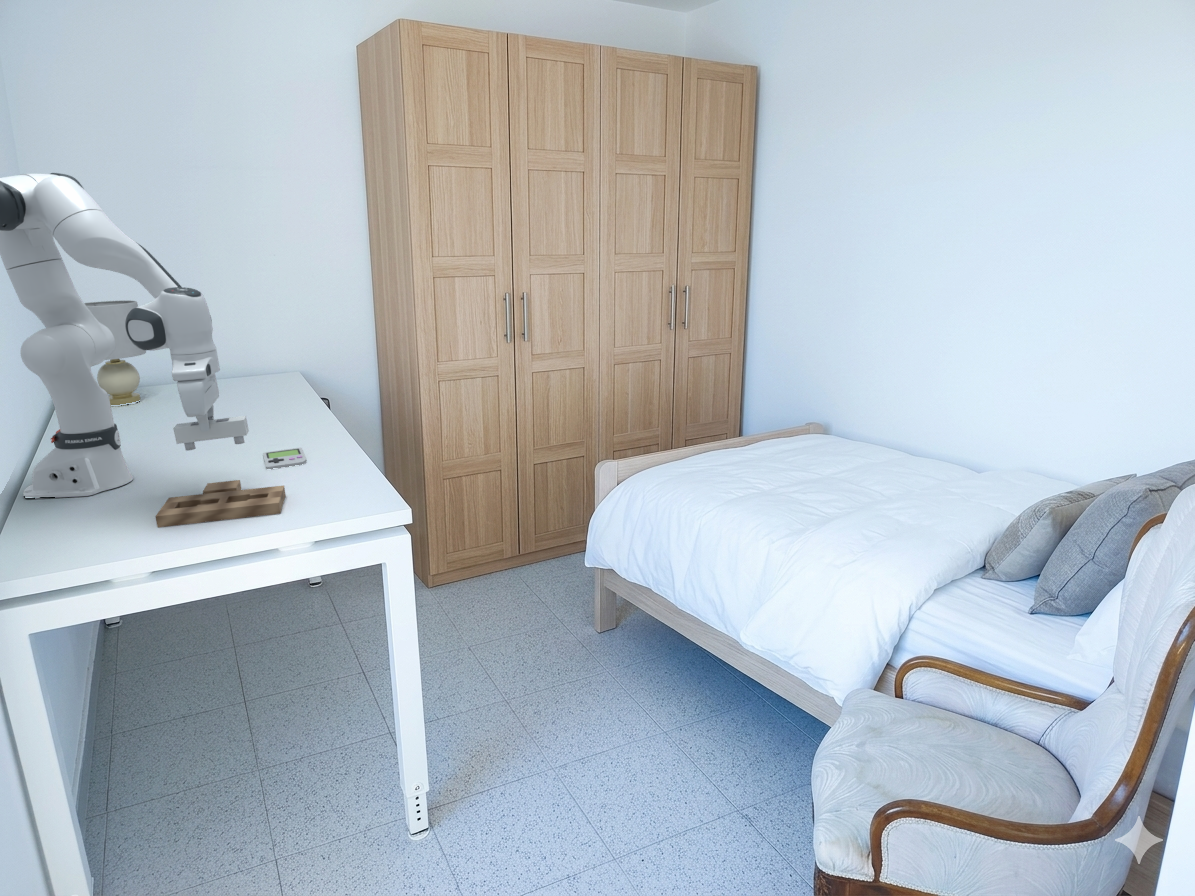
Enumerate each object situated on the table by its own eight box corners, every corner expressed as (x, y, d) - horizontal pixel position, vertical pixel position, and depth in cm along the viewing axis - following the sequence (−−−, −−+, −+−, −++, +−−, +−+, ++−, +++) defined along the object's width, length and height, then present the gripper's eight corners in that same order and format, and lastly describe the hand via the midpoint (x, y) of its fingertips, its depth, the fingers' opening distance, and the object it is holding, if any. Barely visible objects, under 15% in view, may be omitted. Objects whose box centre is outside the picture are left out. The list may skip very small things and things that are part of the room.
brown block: (204, 501, 178) (202, 491, 178) (209, 493, 184) (207, 483, 183) (237, 498, 180) (236, 487, 180) (241, 489, 186) (240, 479, 185)
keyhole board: (157, 527, 164) (155, 516, 163) (170, 508, 175) (168, 497, 174) (280, 513, 170) (278, 502, 169) (285, 495, 181) (284, 485, 180)
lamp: (77, 408, 276) (54, 306, 266) (125, 395, 294) (106, 300, 284) (122, 410, 270) (101, 306, 260) (168, 398, 288) (150, 300, 278)
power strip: (178, 452, 170) (173, 427, 168) (182, 448, 173) (177, 423, 172) (248, 444, 173) (243, 419, 172) (250, 439, 177) (245, 415, 175)
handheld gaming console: (265, 466, 200) (262, 451, 213) (266, 471, 201) (263, 457, 214) (307, 460, 204) (301, 446, 217) (308, 465, 205) (302, 451, 218)
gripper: (189, 358, 177) (200, 418, 181) (169, 374, 158) (182, 441, 162) (219, 356, 178) (230, 415, 182) (203, 371, 160) (216, 437, 163)
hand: (207, 427), depth 172 cm, fingers closed on power strip, 4 cm apart
